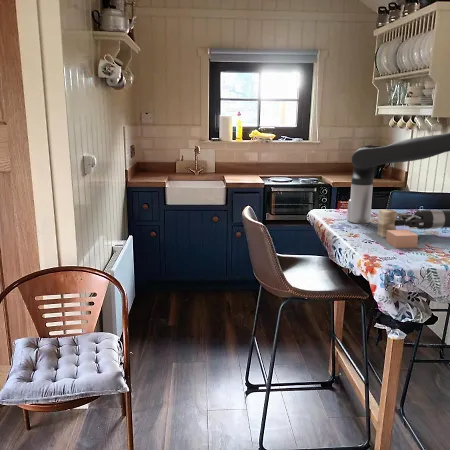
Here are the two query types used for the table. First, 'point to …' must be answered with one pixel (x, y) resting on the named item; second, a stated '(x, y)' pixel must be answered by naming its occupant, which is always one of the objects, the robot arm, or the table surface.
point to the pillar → (386, 221)
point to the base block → (401, 238)
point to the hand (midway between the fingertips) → (390, 220)
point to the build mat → (383, 242)
